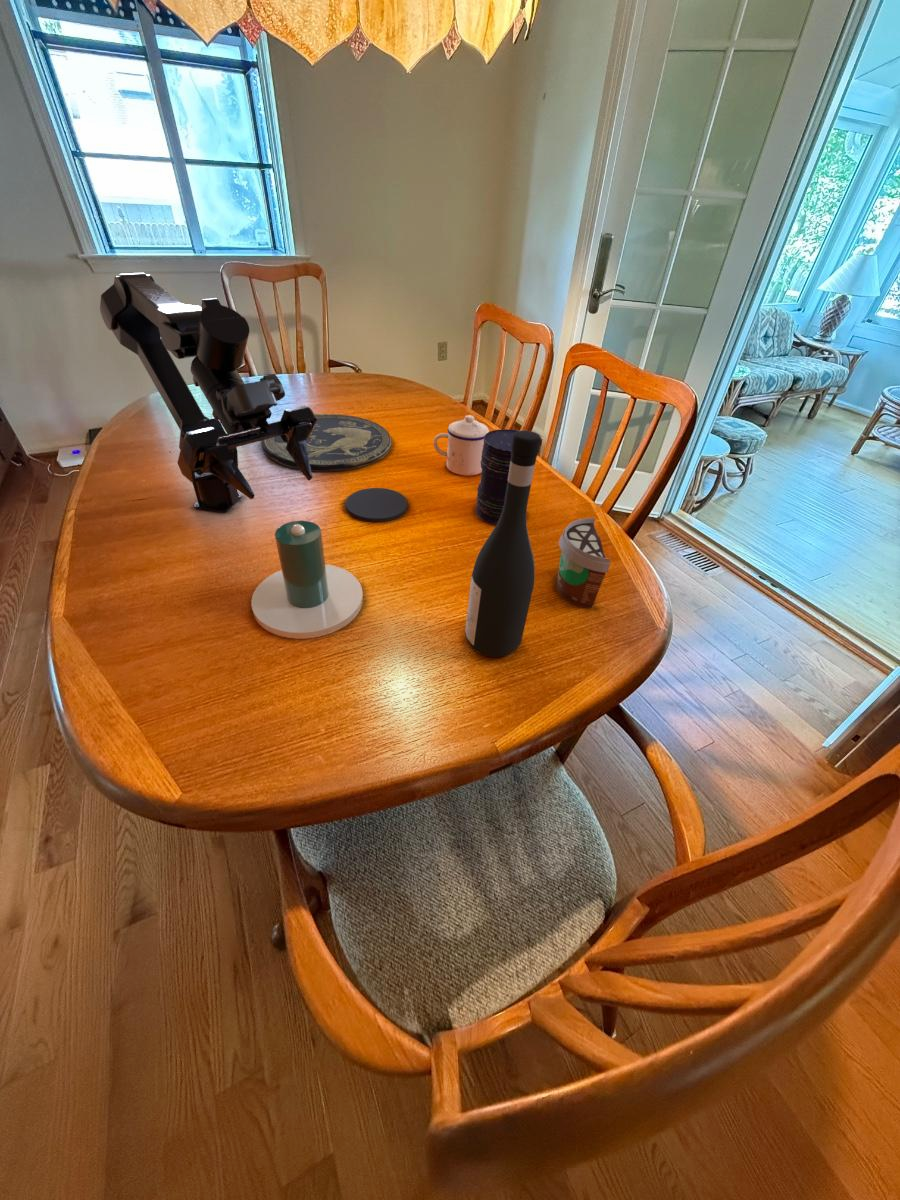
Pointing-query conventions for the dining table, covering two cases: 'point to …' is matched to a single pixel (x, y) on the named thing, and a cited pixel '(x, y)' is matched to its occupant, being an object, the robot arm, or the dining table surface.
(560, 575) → the food container
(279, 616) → the saucer plate
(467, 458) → the teacup with lid
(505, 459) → the storage jar
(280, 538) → the canister
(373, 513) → the coaster
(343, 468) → the decorative plate
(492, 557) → the wine bottle
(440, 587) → the dining table surface
